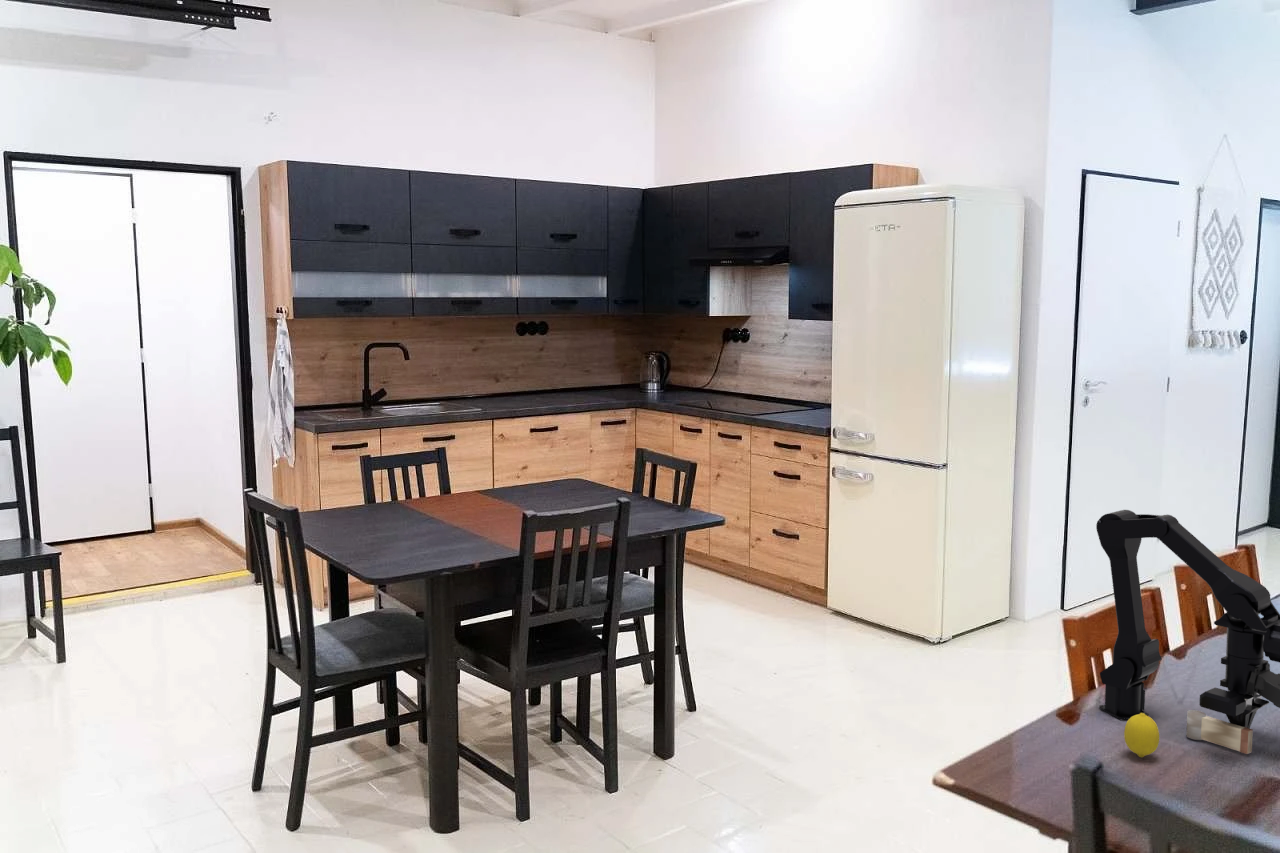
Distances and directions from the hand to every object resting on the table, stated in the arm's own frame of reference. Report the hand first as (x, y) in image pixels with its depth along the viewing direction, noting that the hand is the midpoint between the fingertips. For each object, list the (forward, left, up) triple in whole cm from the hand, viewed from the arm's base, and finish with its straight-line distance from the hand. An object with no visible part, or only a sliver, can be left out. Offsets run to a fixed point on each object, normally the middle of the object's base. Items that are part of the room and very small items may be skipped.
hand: (1241, 738), depth 184 cm
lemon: (-20, +1, -2) cm, 20 cm away
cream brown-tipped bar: (-3, +2, -1) cm, 4 cm away
